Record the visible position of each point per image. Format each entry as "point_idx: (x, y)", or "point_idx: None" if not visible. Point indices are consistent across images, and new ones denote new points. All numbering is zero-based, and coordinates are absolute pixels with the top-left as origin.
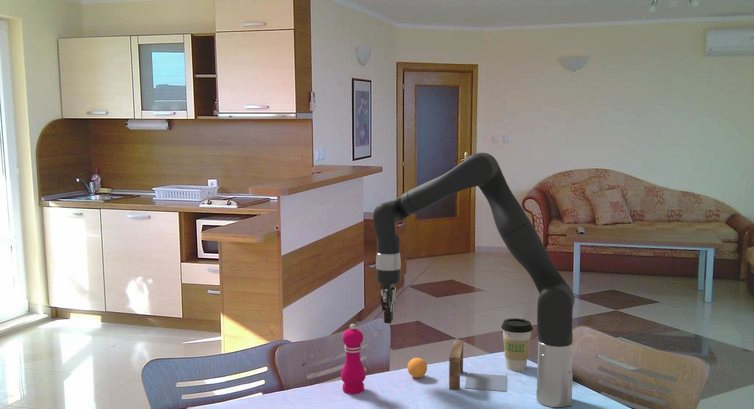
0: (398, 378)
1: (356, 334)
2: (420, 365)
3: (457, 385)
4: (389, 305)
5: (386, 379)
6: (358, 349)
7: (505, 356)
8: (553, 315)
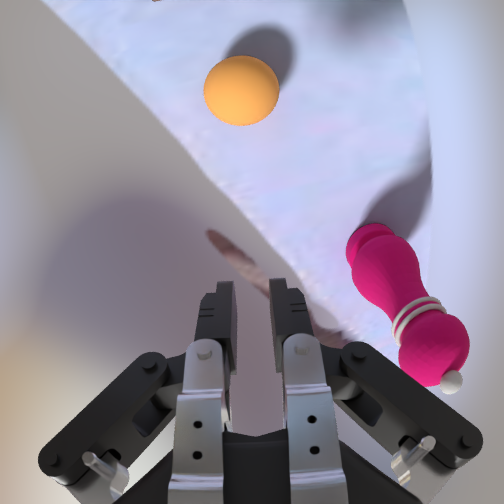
0: (268, 147)
1: (468, 347)
2: (269, 72)
3: None
4: (410, 383)
5: (285, 181)
6: (439, 304)
7: None
8: None
